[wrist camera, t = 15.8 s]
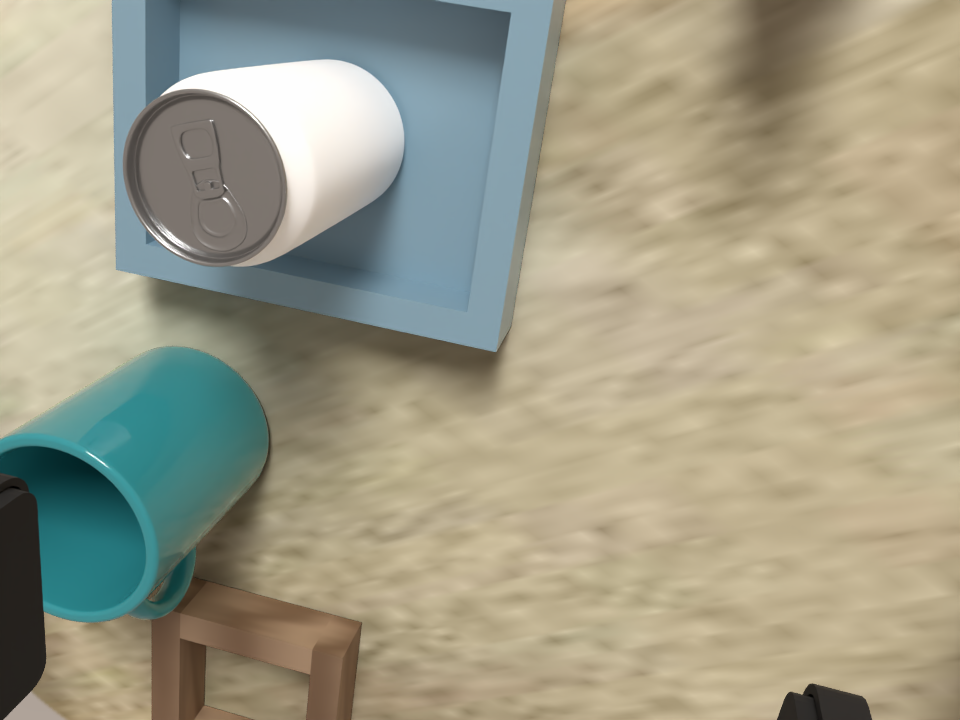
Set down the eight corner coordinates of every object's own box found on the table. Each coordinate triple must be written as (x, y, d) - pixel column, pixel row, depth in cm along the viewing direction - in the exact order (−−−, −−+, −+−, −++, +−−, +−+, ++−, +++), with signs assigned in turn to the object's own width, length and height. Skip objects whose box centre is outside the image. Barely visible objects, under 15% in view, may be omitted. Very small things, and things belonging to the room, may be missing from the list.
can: (287, 217, 41) (143, 290, 30) (252, 72, 39) (83, 92, 28) (420, 198, 39) (320, 268, 28) (391, 45, 37) (270, 56, 26)
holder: (361, 622, 49) (342, 658, 47) (345, 768, 53) (326, 808, 51) (180, 573, 51) (151, 605, 48) (178, 718, 55) (151, 755, 52)
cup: (154, 543, 51) (18, 676, 40) (98, 345, 47) (-67, 436, 36) (299, 545, 48) (195, 685, 38) (254, 337, 44) (124, 432, 34)
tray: (569, -21, 35) (557, -25, 32) (510, 326, 41) (496, 352, 38) (158, -84, 38) (110, -93, 35) (157, 251, 44) (116, 269, 41)
